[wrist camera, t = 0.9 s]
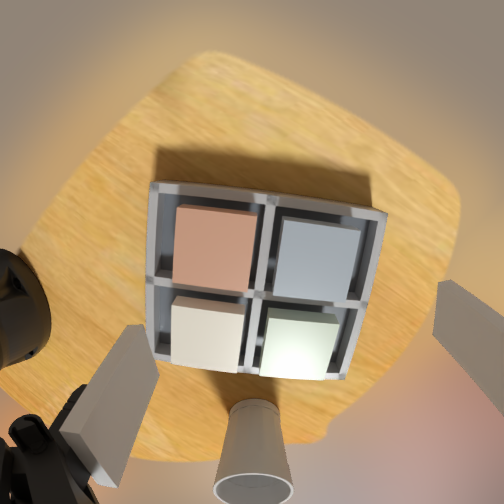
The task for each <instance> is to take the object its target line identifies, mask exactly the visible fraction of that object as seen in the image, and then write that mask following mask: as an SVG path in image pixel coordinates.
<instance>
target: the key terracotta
mask: <svg viewBox="0 0 504 504" xmlns="http://www.w3.org/2000/svg"><path fill="white" fill-rule="evenodd" d="M256 222H257V212H249V211H241V210H233V209H224V208H215V207H206V206H197V205H188V204H182V205H180V206H178V207H177V212H176V225H175V240H174V257H173V278H172V283H179V284H186V285H194V286H201V287H208V288H216V289H224V290H232V291H240V292H247V291H248V284H249V276H250V268H251V261H252V253H253V245H254V237H255V230H256Z"/></svg>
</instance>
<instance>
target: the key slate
mask: <svg viewBox="0 0 504 504" xmlns="http://www.w3.org/2000/svg"><path fill="white" fill-rule="evenodd" d="M360 233H361V231H360V230H359V229H357V228H356V227H354V226H350V225H344V224H337V223H330V222H323V221H316V220H309V219H302V218H295V217H288V216H282V221H281V228H280V235H279V241H278V248H277V255H276V261H275V268H274V275H273V281H272V293H273V296H282V297H291V298H301V299H310V300H320V301H330V302H341V303H345V302H346V298H347V294H348V290H349V285H350V281H351V276H352V272H353V267H354V263H355V258H356V253H357V248H358V243H359V238H360Z"/></svg>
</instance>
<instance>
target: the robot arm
mask: <svg viewBox="0 0 504 504" xmlns="http://www.w3.org/2000/svg"><path fill="white" fill-rule="evenodd" d="M50 333H51V317H50V311H49V306H48V303H47V300H46V297H45V294H44V292H43V290H42V288H41V286H40V284H39V282H38V280H37V279H36V277H35V275H34V274H33V272H32V271H31V270H30V268H29V267H28V266H27V265H26V264H25V263H24V262H23V261H22V260H21V259H20V258H19V257H18V256H16V255H15V254H13V253H12V252H10V251H7V250H5V249H0V370H1V369H3V368H5V367H8V366H11V365H13V364H16V363H19V362H22V361H25V360H28V359H30V358H32V357H34V356H35V355H36V354H37V353H38V352H39V351H40V350H41V349H42V348H43V347H44V346H45V345H46V344H47V342H48V340H49V337H50ZM433 336H434V337H435V338H436V339H437V340H438V341H439V342H440V343H441V344H442V346H443V347H444V348H445V349H446V350H447V351H448V352H449V353H450V354H451V355H452V357H454V359H455V360H456V361H457V362H458V363H459V364H460V365H461V367H462V368H463V369H464V370H465V371H466V372H467V373H468V374H469V376H470V377H471V378H472V379H473V380H474V382H475V383H476V384H477V385H478V386H479V387H480V388H481V390H482V391H483V392H484V393H485V394H486V396H487V397H488V398H489V399H490V400H491V402H492V403H493V404H494V405H495V406H496V408H497V409H498V410H499V411H500V412H501V414H502V415H503V416H504V317H503V316H502V315H500V314H499V313H498V312H496V311H495V310H493V309H492V308H491V307H489V306H488V305H486V304H485V303H484V302H482V301H481V300H480V299H478V298H477V297H475V296H474V295H473V294H471V293H470V292H468V291H467V290H465V289H464V288H463V287H461V286H459V285H458V284H457V283H455V282H454V281H452V280H448V281H442V282H438V290H437V301H436V311H435V319H434V328H433ZM159 376H160V375H159V372H158V369H157V366H156V363H155V360H154V357H153V354H152V351H151V348H150V345H149V342H148V339H147V336H146V332H145V329H144V326H143V324H140V325H127V327H126V328H125V330H124V331H123V333H122V334H121V335H120V337H119V338H118V340H117V341H116V343H115V344H114V346H113V347H112V349H111V350H110V352H109V353H108V355H107V356H106V358H105V359H104V361H103V362H102V364H101V365H100V367H99V368H98V370H97V371H96V373H95V374H94V376H93V377H92V379H91V380H90V382H89V383H88V385H87V384H82V385H81V386H80V387H79V388H77V389H76V390H75V391H74V392H73V393H72V394H71V396H70V397H69V399H68V400H67V403H65V405H64V406H63V410H61V411H60V412H59V414H58V416H57V417H56V419H55V420H54V422H53V423H52V425H51V426H50V428H49V430H48V429H47V427H46V426H45V424H44V422H43V421H42V419H41V418H40V417H39V416H37V415H35V414H28V415H23V416H22V417H19V418H17V419H16V420H15V421H14V422H13V423H12V424H11V426H10V428H9V433H8V434H9V435H10V437H11V438H12V440H13V441H14V442H15V444H16V445H17V446H18V447H9V446H8V445H7V444H6V442H5V441H4V439H3V438H1V437H0V504H99V502H98V500H97V498H96V496H95V494H94V492H93V490H92V488H91V487H90V486H89V484H88V480H89V478H90V476H92V477H93V479H94V480H95V481H96V482H97V484H98V485H102V486H108V487H114V488H118V487H119V484H120V481H121V478H122V475H123V472H124V469H125V467H126V464H127V461H128V458H129V455H130V453H131V450H132V447H133V444H134V442H135V439H136V436H137V433H138V431H139V428H140V425H141V423H142V420H143V417H144V415H145V412H146V409H147V407H148V404H149V401H150V399H151V396H152V394H153V391H154V388H155V386H156V383H157V381H158V378H159ZM9 493H11V498H10V496H9Z"/></svg>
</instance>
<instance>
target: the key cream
mask: <svg viewBox="0 0 504 504" xmlns="http://www.w3.org/2000/svg"><path fill="white" fill-rule="evenodd" d="M244 314H245V305H244V304H236V303H228V302H220V301H212V300H205V299H198V298H191V297H184V296H177V297H176V298H175V300H174V302H173V303H172V307H171V364H175V365H181V366H187V367H194V368H200V369H207V370H214V371H221V372H229V373H237V369H238V361H239V353H240V346H241V338H242V330H243V322H244Z"/></svg>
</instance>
